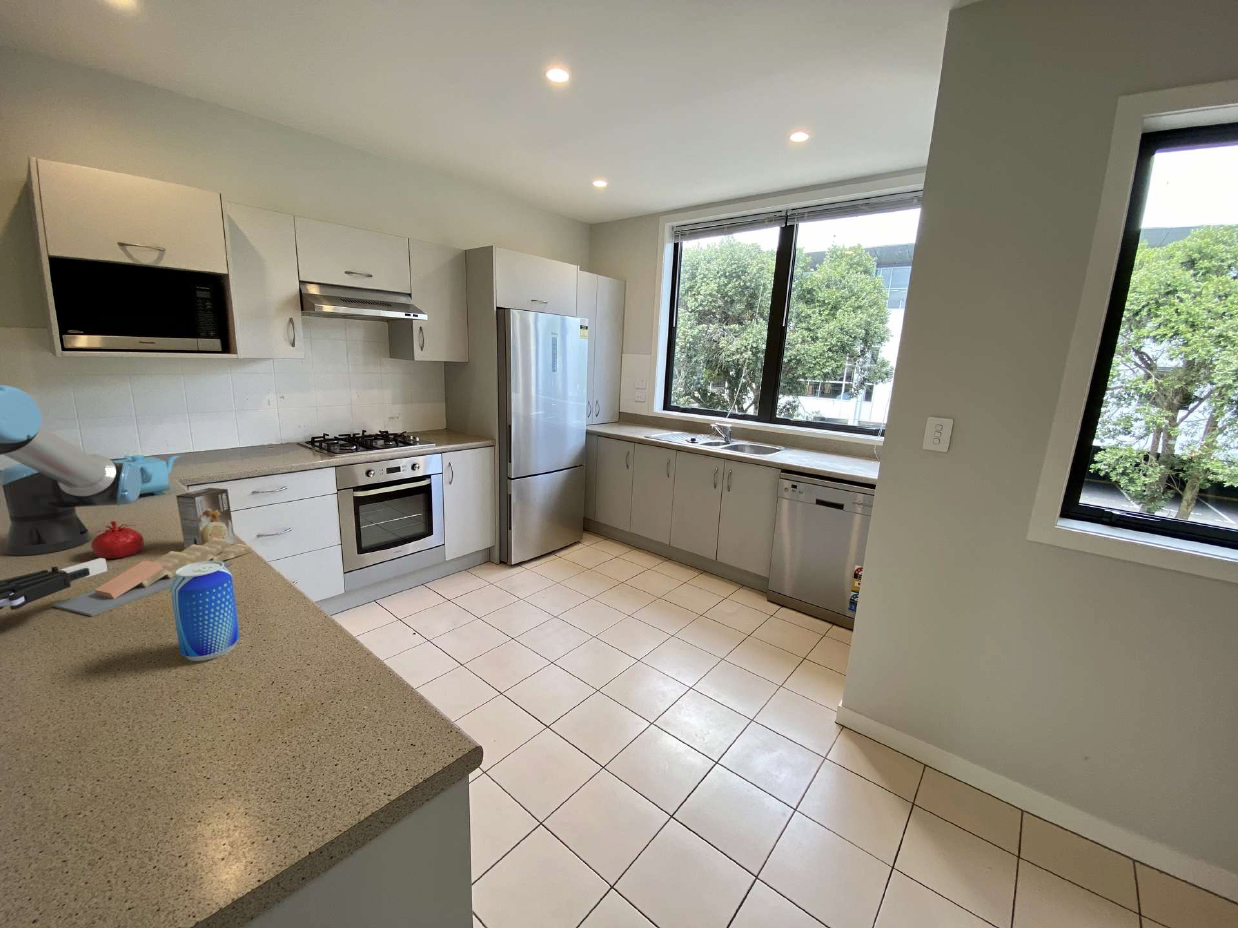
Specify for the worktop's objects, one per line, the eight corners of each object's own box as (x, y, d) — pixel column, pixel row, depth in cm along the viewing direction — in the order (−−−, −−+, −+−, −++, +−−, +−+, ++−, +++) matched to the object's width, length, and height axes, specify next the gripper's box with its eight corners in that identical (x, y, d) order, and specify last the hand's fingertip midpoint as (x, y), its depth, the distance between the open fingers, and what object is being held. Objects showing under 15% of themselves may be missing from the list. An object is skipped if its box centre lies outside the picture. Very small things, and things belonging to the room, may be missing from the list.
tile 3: (166, 573, 116) (207, 546, 124) (151, 570, 117) (193, 544, 126) (170, 579, 117) (210, 551, 125) (155, 575, 118) (196, 549, 126)
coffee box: (217, 541, 142) (210, 486, 139) (236, 543, 141) (229, 488, 138) (183, 552, 133) (175, 494, 130) (203, 555, 132) (195, 497, 129)
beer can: (192, 669, 85) (178, 582, 82) (173, 653, 89) (160, 569, 86) (248, 647, 92) (238, 565, 89) (228, 633, 96) (218, 555, 93)
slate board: (52, 606, 104) (52, 604, 104) (197, 558, 130) (196, 556, 130) (91, 616, 100) (91, 614, 100) (231, 564, 127) (231, 562, 127)
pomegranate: (113, 565, 125) (106, 530, 123) (82, 560, 127) (75, 525, 125) (156, 550, 135) (150, 517, 132) (127, 545, 136) (121, 513, 134)
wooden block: (212, 557, 126) (251, 546, 135) (198, 554, 127) (237, 543, 137) (213, 563, 126) (252, 551, 135) (198, 560, 127) (238, 549, 137)
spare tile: (110, 593, 106) (159, 563, 114) (94, 589, 107) (144, 560, 116) (114, 598, 107) (163, 568, 115) (98, 595, 108) (147, 565, 116)
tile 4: (189, 565, 121) (227, 540, 129) (175, 563, 122) (213, 537, 130) (193, 570, 121) (230, 545, 130) (178, 568, 123) (216, 542, 131)
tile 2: (142, 582, 111) (186, 553, 120) (126, 579, 113) (171, 551, 121) (145, 587, 112) (189, 558, 120) (130, 584, 113) (174, 556, 122)
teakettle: (155, 500, 179) (149, 460, 176) (92, 501, 174) (85, 460, 172) (187, 487, 197) (182, 450, 194) (130, 488, 193) (124, 450, 190)
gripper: (-88, 630, 87) (86, 576, 109) (-42, 643, 83) (128, 585, 105) (-99, 589, 85) (80, 543, 107) (-52, 601, 82) (122, 551, 104)
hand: (103, 564), depth 106 cm, fingers closed
